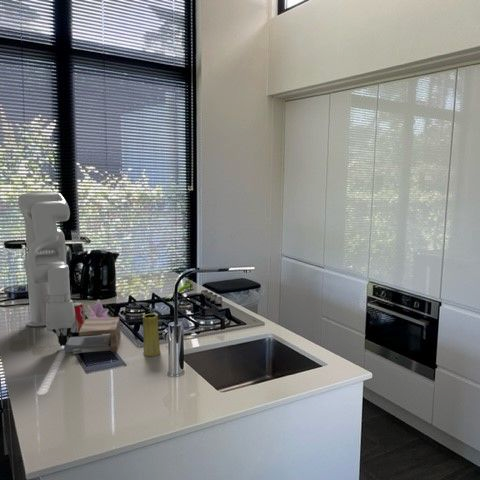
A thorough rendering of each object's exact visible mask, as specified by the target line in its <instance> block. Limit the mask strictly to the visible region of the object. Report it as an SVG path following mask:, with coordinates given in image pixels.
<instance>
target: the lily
mask: <svg viewBox="0 0 480 480" xmlns="http://www.w3.org/2000/svg"><path fill="white" fill-rule="evenodd" d="M87 306H88V308H89V309H90V311H91V312H90V313H89V315H88V317H87V319H94V318H109V317H110V316H109V315H108V312H109V311H110V310H109V308H104V306H103V304H102V302H101V299H97V301H96V303H95V305H92V304H87Z"/></svg>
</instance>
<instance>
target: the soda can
mask: <svg viewBox="0 0 480 480" xmlns="http://www.w3.org/2000/svg"><path fill="white" fill-rule="evenodd" d="M73 304H74V309H75V314H76V325H77V328H76V329H74V330H70V331H69V333H70V332H71V334H79V331H80V329H81V327H82V325H83V324H84V322H85V320H86V310H85V306H84V304H83V302H82V301H73Z"/></svg>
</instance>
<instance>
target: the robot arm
mask: <svg viewBox="0 0 480 480" xmlns="http://www.w3.org/2000/svg"><path fill="white" fill-rule="evenodd" d="M17 204H18V208H19V211H20V213H21V216H22V217H23V220H24V229H25V230H24V231H25V240H26V241H25V243H26V247H27V249H28V252H27V255H26V257H25V258H24V260H23V267H24V271H25V275H26V282H27V291H28V303H29V304H28V306H29V315H30V316H29V317H30V319H29V320H27V321H26V324H27V326H29V327H34V328H36V327H37V328H38V327H45V326H46V331H47V332H53V333H54V335H56V336H57V340H58V341H57V342H58V344H59V346H60V347H62V346H63V347H64V346H65V344H66V343H67V341H68V334H69V333H70V330H74V329H76V328H77V325H76V314H75V309H74V304H73V302H74V301H73V300H72V299H71V289H70V288H71V287H70V286H71V285H70V269H69V268H70V267H69V264H67V251H66V250H67V249H66V239H65V238H66V237H65V234H64V232H63V230H62V229H60V228H58V226H57V222H68V220H69V219H70V215H71V211H70V206H69V204H68V202H67V200H66V199H65V197H64V196H63V195H62V194H61V193H60V192H55V191H54V192H51V191H49V192H25V193H22V194H20V195H19V196H18V199H17ZM45 251H53V252H45ZM38 252H41V253H38Z"/></svg>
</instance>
